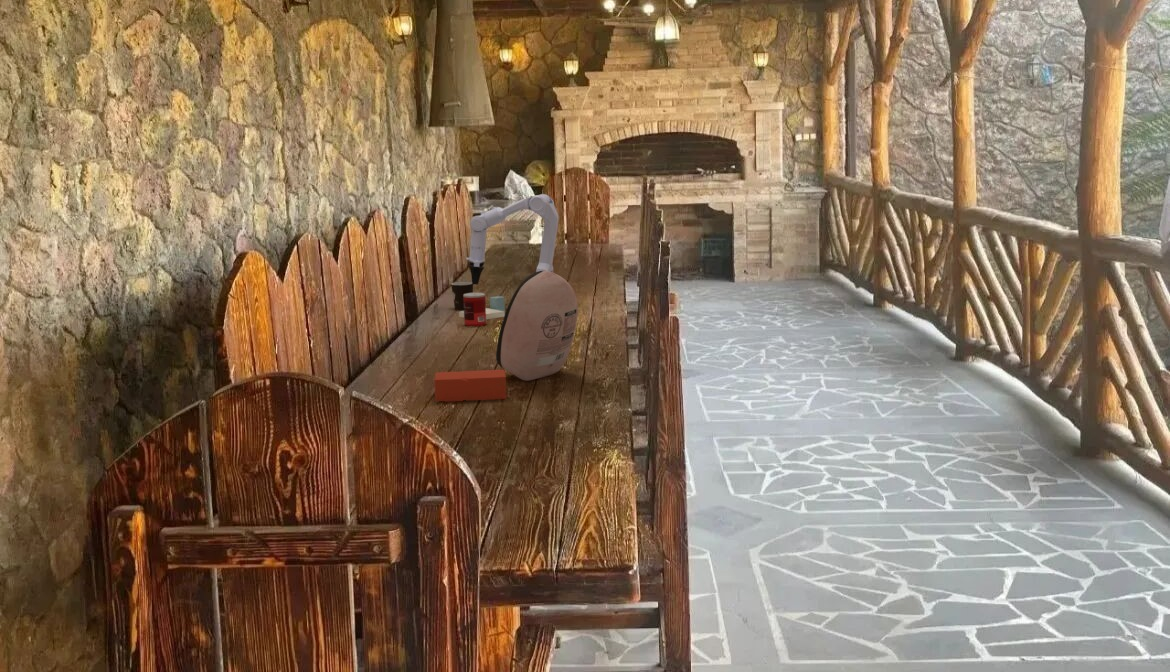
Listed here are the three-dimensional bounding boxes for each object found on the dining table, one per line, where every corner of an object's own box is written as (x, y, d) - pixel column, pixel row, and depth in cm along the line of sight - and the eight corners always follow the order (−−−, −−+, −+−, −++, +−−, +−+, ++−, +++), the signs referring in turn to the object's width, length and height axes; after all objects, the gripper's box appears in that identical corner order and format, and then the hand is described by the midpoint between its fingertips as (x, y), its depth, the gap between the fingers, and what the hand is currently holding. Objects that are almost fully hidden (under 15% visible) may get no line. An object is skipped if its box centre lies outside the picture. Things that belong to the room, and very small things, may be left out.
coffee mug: (472, 310, 407) (471, 284, 405) (450, 311, 407) (449, 285, 405) (476, 305, 418) (475, 280, 416) (454, 306, 418) (453, 281, 417)
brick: (505, 391, 279) (504, 369, 278) (506, 399, 270) (505, 376, 269) (436, 394, 277) (435, 372, 276) (435, 403, 268) (434, 379, 267)
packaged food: (539, 365, 308) (536, 263, 302) (592, 374, 296) (590, 267, 290) (486, 380, 291) (482, 271, 286) (539, 389, 279) (536, 276, 273)
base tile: (504, 316, 392) (504, 311, 392) (478, 320, 385) (477, 315, 384) (485, 312, 401) (485, 307, 401) (459, 316, 393) (459, 311, 393)
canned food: (488, 322, 380) (487, 292, 378) (483, 326, 372) (482, 295, 370) (467, 322, 381) (465, 292, 379) (462, 326, 373) (461, 295, 371)
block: (505, 312, 401) (504, 297, 400) (496, 314, 398) (496, 298, 397) (498, 311, 404) (498, 296, 403) (490, 312, 401) (489, 297, 400)
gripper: (467, 243, 409) (464, 278, 411) (467, 249, 394) (464, 284, 397) (485, 245, 409) (483, 279, 412) (486, 250, 395) (483, 286, 398)
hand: (475, 282), depth 405 cm, fingers open, 7 cm apart
